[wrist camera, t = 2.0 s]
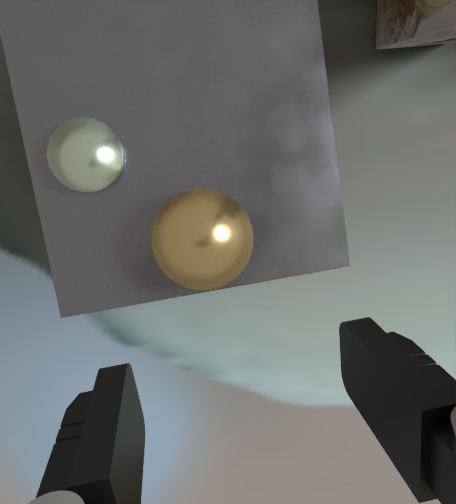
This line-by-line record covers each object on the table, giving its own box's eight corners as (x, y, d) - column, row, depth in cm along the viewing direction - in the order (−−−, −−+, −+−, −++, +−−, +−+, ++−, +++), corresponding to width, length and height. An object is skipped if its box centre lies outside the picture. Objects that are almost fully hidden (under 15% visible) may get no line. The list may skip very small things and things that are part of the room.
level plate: (-22, -115, 20) (-63, -180, 17) (289, -140, 22) (309, -205, 18) (68, 310, 23) (49, 328, 20) (339, 262, 25) (365, 271, 21)
